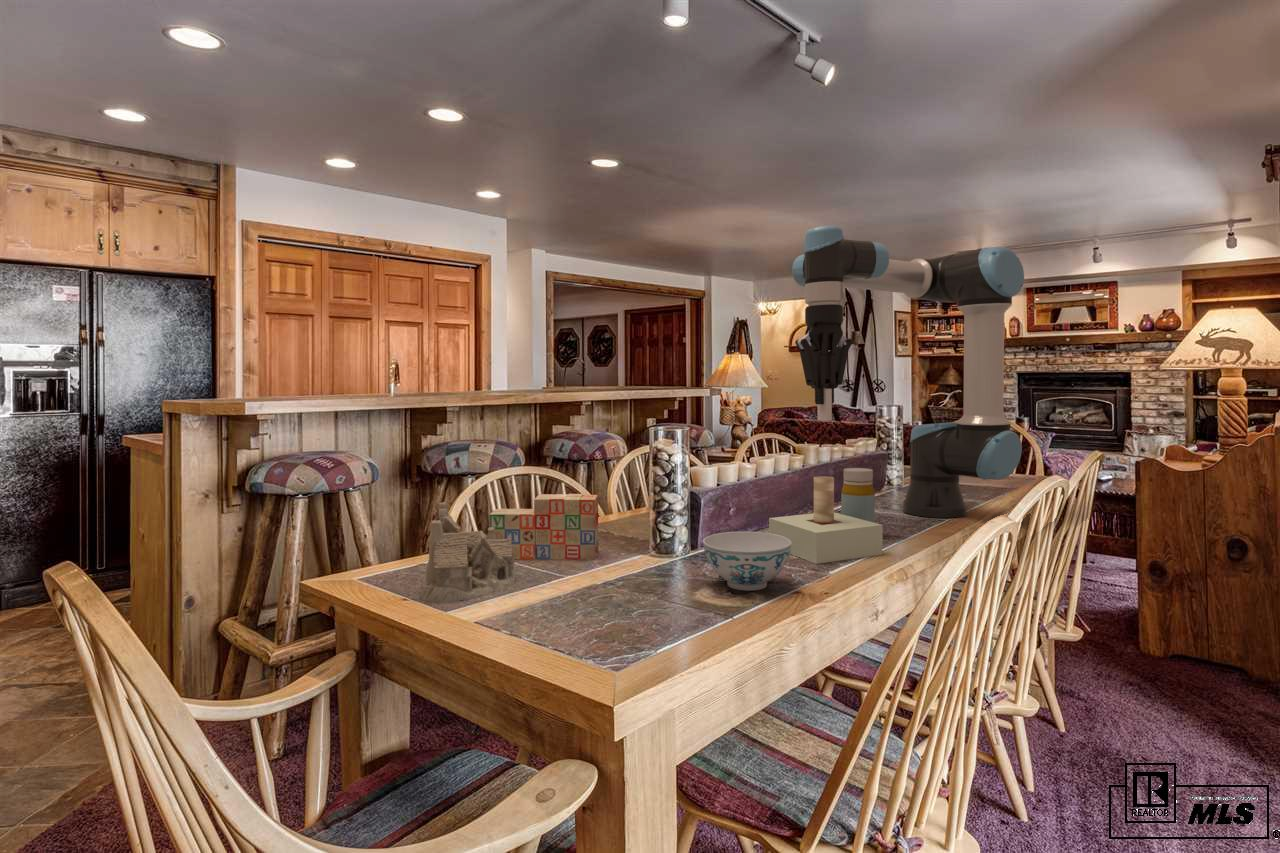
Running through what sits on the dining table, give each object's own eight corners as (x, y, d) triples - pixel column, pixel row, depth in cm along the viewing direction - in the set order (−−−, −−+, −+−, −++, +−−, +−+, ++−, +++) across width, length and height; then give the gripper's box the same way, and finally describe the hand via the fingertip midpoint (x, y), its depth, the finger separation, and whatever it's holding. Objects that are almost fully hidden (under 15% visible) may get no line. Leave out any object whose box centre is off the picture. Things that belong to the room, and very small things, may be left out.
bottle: (834, 535, 160) (834, 468, 159) (858, 532, 163) (859, 466, 162) (856, 541, 154) (856, 472, 153) (881, 538, 157) (881, 470, 156)
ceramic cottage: (409, 602, 116) (413, 510, 116) (434, 578, 132) (438, 497, 132) (506, 606, 117) (510, 514, 116) (519, 581, 133) (523, 501, 133)
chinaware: (803, 579, 126) (803, 536, 126) (773, 603, 113) (773, 555, 113) (724, 569, 134) (724, 528, 133) (688, 590, 121) (687, 545, 120)
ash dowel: (825, 542, 150) (825, 475, 149) (838, 546, 146) (838, 478, 145) (809, 544, 148) (809, 477, 147) (821, 548, 144) (821, 479, 143)
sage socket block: (830, 538, 158) (831, 511, 157) (882, 554, 143) (882, 524, 142) (769, 546, 151) (769, 518, 151) (816, 563, 137) (816, 532, 136)
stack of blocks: (489, 560, 144) (487, 499, 143) (497, 552, 150) (495, 494, 149) (596, 560, 143) (595, 498, 142) (599, 552, 149) (598, 493, 148)
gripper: (837, 307, 153) (837, 417, 154) (786, 306, 147) (787, 421, 149) (861, 303, 146) (862, 419, 148) (809, 302, 140) (810, 422, 142)
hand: (824, 420), depth 148 cm, fingers closed
